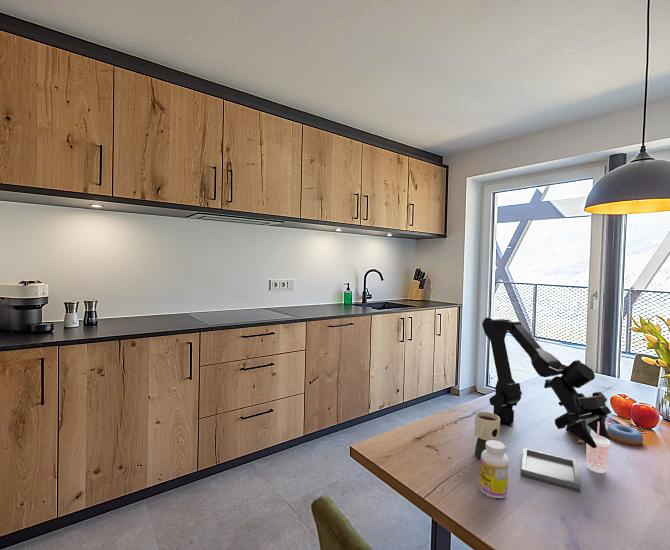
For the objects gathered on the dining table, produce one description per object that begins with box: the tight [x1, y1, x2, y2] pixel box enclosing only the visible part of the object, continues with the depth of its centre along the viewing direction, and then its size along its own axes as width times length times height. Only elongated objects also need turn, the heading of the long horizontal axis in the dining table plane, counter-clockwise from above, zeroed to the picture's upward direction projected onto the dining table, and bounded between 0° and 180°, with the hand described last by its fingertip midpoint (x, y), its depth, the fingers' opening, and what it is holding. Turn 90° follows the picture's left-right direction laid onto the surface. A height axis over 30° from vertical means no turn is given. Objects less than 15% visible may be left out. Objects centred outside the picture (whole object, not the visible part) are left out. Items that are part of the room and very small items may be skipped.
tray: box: [520, 447, 582, 493], centre depth 108 cm, size 14×14×2 cm
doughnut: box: [606, 423, 644, 446], centre depth 129 cm, size 10×10×5 cm
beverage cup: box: [585, 422, 612, 474], centre depth 110 cm, size 6×6×14 cm
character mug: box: [473, 411, 501, 459], centre depth 114 cm, size 11×7×13 cm, turn 141°
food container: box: [565, 411, 592, 445], centre depth 128 cm, size 12×6×10 cm, turn 168°
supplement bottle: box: [479, 440, 510, 499], centre depth 97 cm, size 7×7×13 cm
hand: (602, 445), depth 108 cm, fingers closed on beverage cup, 6 cm apart
